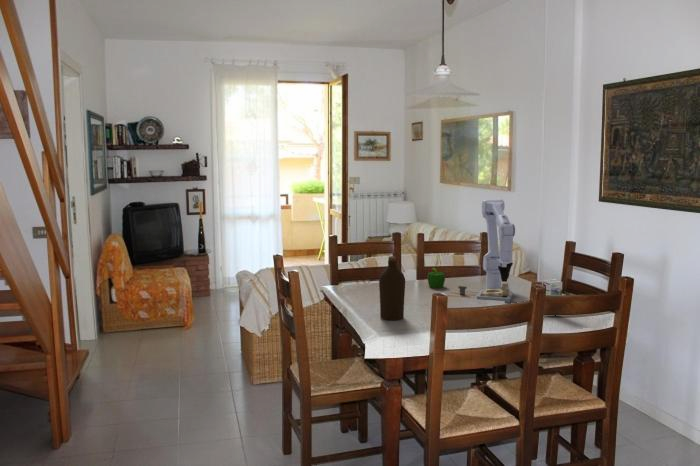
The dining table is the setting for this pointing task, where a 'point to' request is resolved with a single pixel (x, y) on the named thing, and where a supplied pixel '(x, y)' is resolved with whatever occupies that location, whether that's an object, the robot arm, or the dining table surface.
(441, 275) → the bell pepper
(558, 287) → the syrup box
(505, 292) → the tan frame with tab
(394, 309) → the olive oil
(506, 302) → the slate tray
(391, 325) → the dining table surface
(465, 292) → the base
